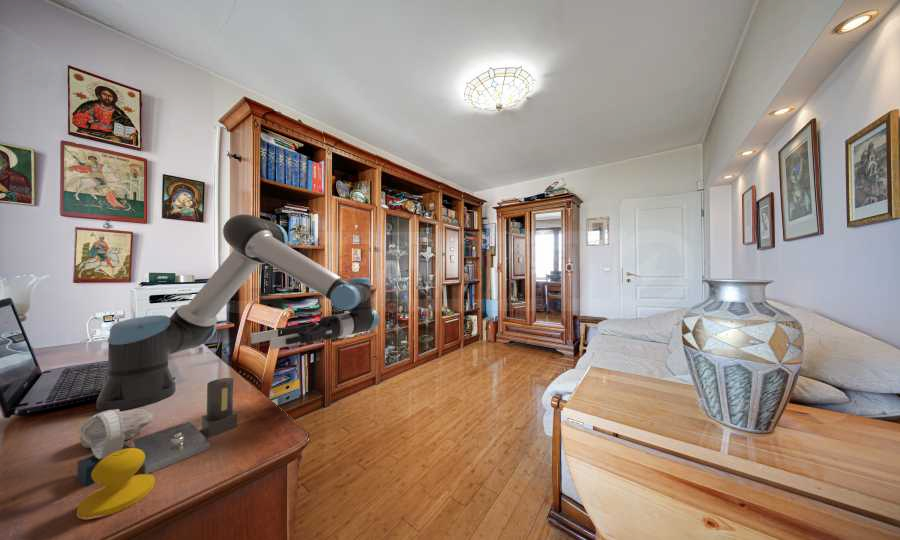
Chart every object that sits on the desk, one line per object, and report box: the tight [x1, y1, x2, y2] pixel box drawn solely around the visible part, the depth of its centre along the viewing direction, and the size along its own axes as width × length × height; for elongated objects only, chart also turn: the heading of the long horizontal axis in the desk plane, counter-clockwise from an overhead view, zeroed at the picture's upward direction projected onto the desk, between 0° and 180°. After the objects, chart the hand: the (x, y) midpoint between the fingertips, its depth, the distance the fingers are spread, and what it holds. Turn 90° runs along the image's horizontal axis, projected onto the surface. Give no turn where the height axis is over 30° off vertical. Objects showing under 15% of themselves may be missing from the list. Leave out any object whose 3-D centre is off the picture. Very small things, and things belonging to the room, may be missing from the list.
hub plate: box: [131, 420, 210, 475], centre depth 57 cm, size 14×9×4 cm, turn 56°
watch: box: [76, 409, 131, 487], centre depth 50 cm, size 6×8×11 cm
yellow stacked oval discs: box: [76, 447, 156, 518], centre depth 44 cm, size 8×8×8 cm
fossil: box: [79, 408, 155, 449], centre depth 60 cm, size 9×6×10 cm
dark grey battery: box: [201, 377, 238, 438], centre depth 65 cm, size 5×5×11 cm
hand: (260, 341), depth 72 cm, fingers open, 13 cm apart
